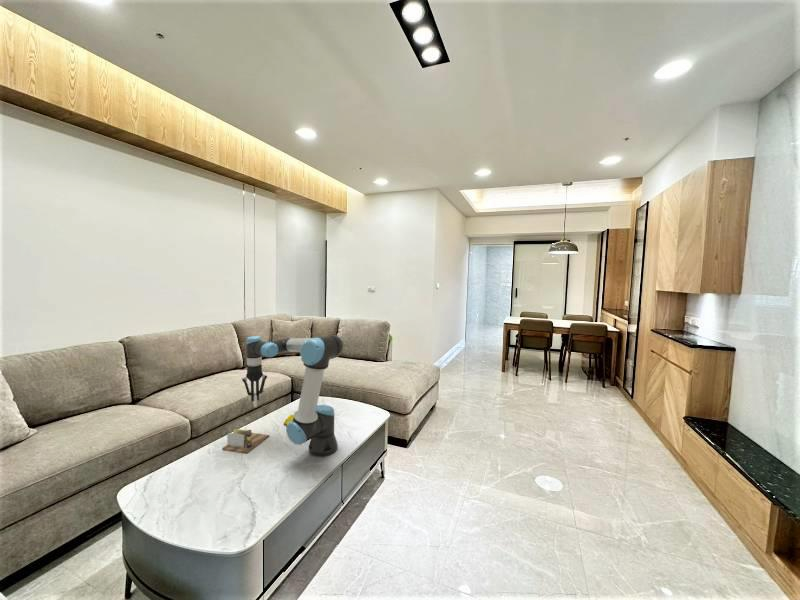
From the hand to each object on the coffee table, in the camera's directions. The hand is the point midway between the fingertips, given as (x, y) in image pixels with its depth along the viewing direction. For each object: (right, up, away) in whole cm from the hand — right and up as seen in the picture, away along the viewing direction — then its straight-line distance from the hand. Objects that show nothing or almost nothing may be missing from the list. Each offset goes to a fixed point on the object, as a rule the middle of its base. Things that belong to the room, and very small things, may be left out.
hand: (255, 406), depth 182 cm
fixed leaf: (-5, -19, -7) cm, 21 cm away
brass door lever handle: (-5, -19, -5) cm, 20 cm away
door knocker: (+16, -19, +25) cm, 36 cm away
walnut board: (-4, -20, -1) cm, 20 cm away
